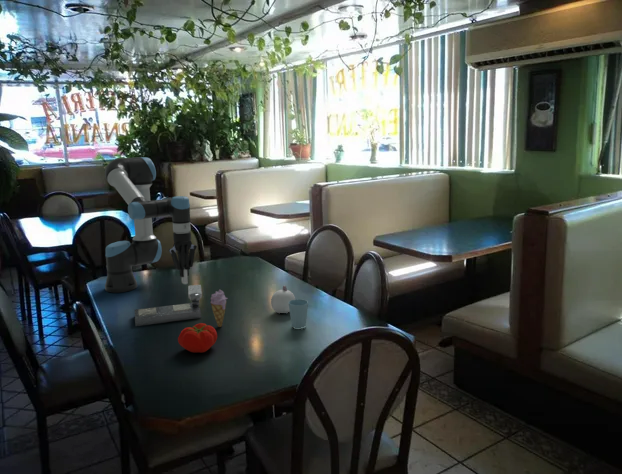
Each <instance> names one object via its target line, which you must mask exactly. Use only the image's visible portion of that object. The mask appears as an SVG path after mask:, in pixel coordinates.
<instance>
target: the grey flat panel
mask: <svg viewBox="0 0 622 474" xmlns="http://www.w3.org/2000/svg"><path fill="white" fill-rule="evenodd" d="M187 288H188V289H187V291H188V295H187V296H188V299H190V301H191V302H192V301H199V302H200V300H201V299H202V298H203V296H202V295H203V292H202V285H201V284H195V285H194V284H193V285H192V284H191V285H188V287H187Z"/></svg>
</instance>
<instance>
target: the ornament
mask: <svg viewBox="0 0 622 474" xmlns="http://www.w3.org/2000/svg"><path fill="white" fill-rule="evenodd" d="M295 299H296V297H295V295H294V293H293V292H292V291H290V290H288V289H287V286H286V285H283V286H282V288H281V289H278V290H276V291H275V292H274V293H273V294H272V296H271V299H270V305H271V308H272V310H273V311H275V312H276V313H278V314H280V313H286V314H289V313H290V309H289V301H291V300H295ZM288 312H289V313H288Z"/></svg>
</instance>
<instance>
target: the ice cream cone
mask: <svg viewBox="0 0 622 474" xmlns="http://www.w3.org/2000/svg"><path fill="white" fill-rule="evenodd" d="M228 299H229V298H228V297H226V295H225V292H224V291H223V290H221V289H218V291H217V290H216V291H215V293H212V294H211V297H210V300H211V301H210V305H211V309H212V313H213V316H214V318H215V319H214V320H215V322H216V325H217V327H218V328H222V326H223V321H224V318H225V314H226V308H227V300H228Z"/></svg>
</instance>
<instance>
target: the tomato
mask: <svg viewBox="0 0 622 474" xmlns="http://www.w3.org/2000/svg"><path fill="white" fill-rule="evenodd" d="M217 339H218V332H217V330H216V329H215V327H213V326H212V325H208V324H206V323H203V322H199V323H197V324H195V325H192V327H191V326H189V327H188V326H187V327H184V329H182V330H181V332H180V333H179V336H178V337H177V342H178V344H179V345H180V347H182V348H183V349H185V350H186V351H188V352H190V353H206V352H207V351H208V350H210V349H211V347H212V346H214V345H215V344H216V342H217Z"/></svg>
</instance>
